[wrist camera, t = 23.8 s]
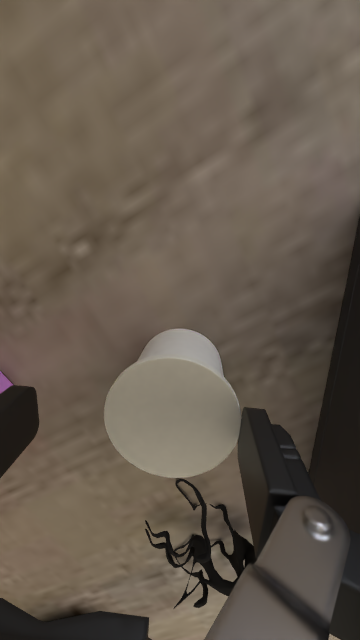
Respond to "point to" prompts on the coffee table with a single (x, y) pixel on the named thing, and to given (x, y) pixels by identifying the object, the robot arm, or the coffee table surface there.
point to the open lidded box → (342, 411)
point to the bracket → (4, 383)
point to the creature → (208, 553)
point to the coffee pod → (174, 407)
